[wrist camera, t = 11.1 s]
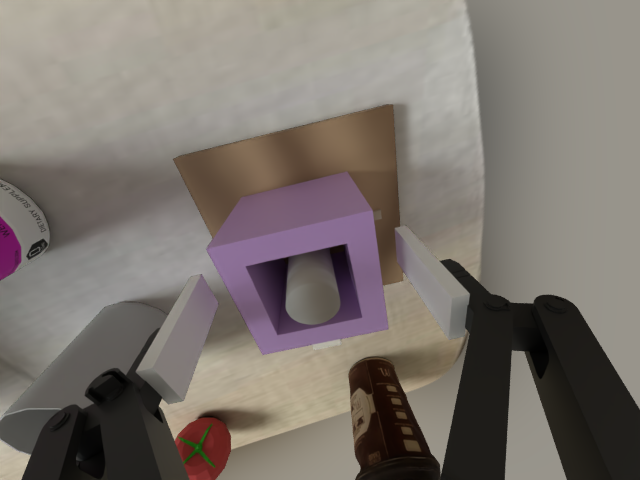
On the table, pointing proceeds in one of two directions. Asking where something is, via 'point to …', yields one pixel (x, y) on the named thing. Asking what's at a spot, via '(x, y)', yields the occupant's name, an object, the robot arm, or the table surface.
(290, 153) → the post board
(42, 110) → the table surface
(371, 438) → the coffee cup
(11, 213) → the supplement can
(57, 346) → the table surface
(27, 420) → the cup
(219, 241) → the purple planter box
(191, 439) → the tomato
